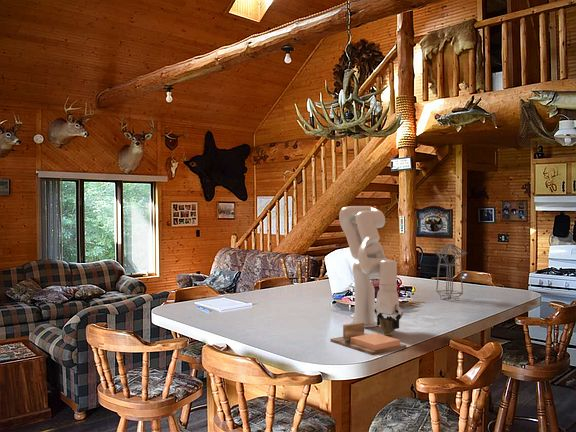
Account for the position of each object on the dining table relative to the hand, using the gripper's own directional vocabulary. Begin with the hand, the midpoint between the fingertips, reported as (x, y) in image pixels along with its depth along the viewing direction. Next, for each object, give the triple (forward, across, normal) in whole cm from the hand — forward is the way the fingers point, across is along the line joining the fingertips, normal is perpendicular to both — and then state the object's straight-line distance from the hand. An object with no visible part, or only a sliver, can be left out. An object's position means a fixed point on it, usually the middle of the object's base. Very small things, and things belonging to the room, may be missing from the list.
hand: (387, 326), depth 230 cm
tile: (+1, +10, -18) cm, 21 cm away
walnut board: (+4, +6, -18) cm, 19 cm away
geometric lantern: (+4, -44, +101) cm, 110 cm away
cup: (+4, 0, 0) cm, 4 cm away
